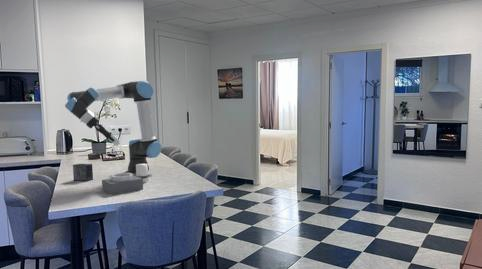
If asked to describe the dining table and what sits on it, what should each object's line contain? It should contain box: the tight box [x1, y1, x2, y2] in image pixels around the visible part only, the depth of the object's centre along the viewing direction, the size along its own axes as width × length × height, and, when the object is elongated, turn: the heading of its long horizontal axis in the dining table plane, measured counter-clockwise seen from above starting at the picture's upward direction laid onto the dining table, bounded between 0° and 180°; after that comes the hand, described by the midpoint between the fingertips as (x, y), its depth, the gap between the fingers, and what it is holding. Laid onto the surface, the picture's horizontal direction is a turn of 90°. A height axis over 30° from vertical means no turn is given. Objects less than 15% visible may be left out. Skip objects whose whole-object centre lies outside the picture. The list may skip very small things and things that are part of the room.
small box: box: [72, 163, 94, 182], centre depth 225 cm, size 11×6×10 cm, turn 74°
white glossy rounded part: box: [135, 163, 149, 184], centre depth 215 cm, size 7×7×11 cm
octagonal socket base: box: [101, 172, 144, 196], centre depth 196 cm, size 18×14×8 cm
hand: (118, 143), depth 210 cm, fingers open, 13 cm apart
